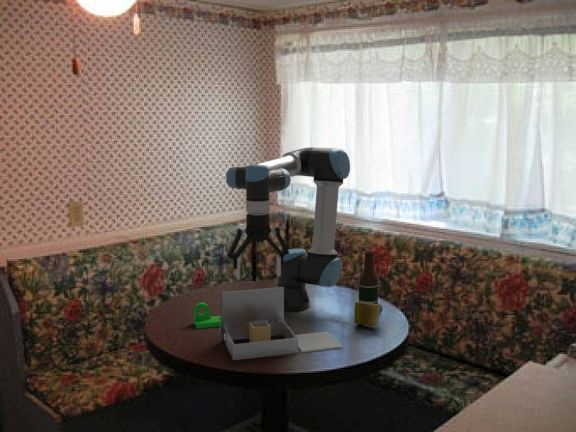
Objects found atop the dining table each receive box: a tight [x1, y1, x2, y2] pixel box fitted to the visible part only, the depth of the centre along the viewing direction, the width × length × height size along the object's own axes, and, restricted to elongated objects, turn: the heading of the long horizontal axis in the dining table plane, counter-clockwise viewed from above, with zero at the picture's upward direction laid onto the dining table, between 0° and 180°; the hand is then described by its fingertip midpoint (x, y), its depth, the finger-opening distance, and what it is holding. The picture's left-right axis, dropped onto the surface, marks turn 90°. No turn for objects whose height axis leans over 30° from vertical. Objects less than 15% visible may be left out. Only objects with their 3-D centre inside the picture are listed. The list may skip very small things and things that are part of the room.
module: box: [248, 319, 272, 343], centre depth 193 cm, size 6×6×9 cm
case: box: [218, 286, 299, 361], centre depth 192 cm, size 23×18×17 cm
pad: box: [295, 330, 343, 354], centre depth 196 cm, size 14×14×1 cm
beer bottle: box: [358, 250, 379, 304], centre depth 226 cm, size 8×8×24 cm
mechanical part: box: [193, 302, 221, 330], centre depth 214 cm, size 12×6×8 cm, turn 108°
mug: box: [354, 301, 383, 327], centre depth 211 cm, size 12×10×10 cm
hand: (258, 277), depth 189 cm, fingers open, 13 cm apart
